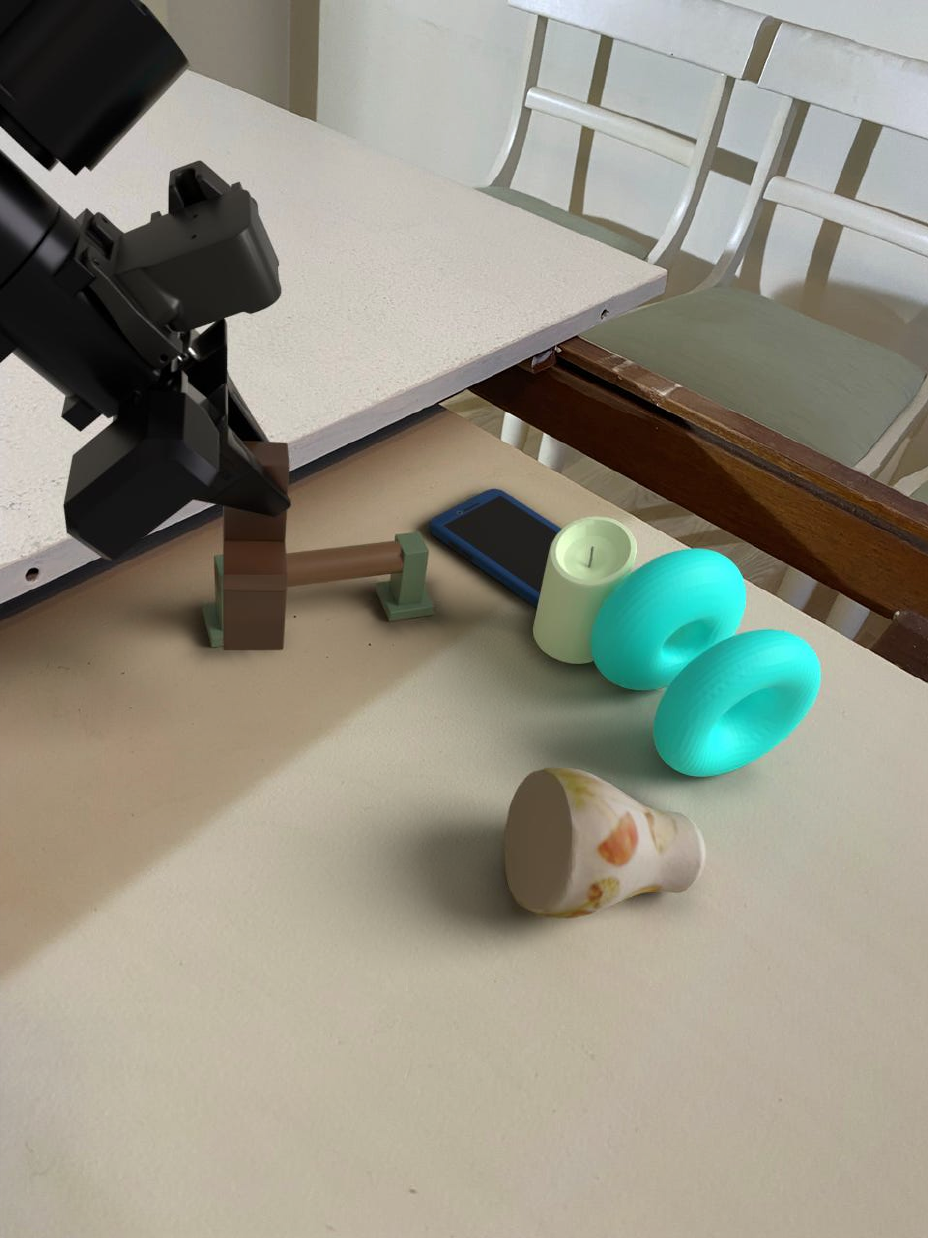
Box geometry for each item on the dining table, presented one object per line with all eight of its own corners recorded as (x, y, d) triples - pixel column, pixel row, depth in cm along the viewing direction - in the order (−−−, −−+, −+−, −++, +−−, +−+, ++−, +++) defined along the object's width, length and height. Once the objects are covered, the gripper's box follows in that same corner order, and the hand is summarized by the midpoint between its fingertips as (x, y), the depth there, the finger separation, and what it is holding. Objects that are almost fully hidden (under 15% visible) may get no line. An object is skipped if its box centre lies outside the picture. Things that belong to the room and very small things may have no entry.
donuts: (651, 805, 57) (704, 679, 50) (566, 680, 63) (603, 553, 56) (793, 762, 60) (859, 640, 54) (699, 648, 67) (748, 526, 60)
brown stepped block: (283, 650, 52) (292, 498, 46) (223, 651, 52) (223, 496, 45) (278, 560, 58) (285, 413, 51) (223, 560, 57) (223, 410, 51)
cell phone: (576, 636, 66) (578, 627, 65) (423, 528, 72) (424, 520, 72) (642, 590, 70) (645, 581, 70) (492, 492, 76) (494, 484, 76)
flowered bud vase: (725, 928, 52) (701, 869, 44) (538, 958, 54) (482, 907, 46) (695, 790, 56) (668, 712, 48) (523, 823, 58) (468, 754, 50)
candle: (569, 677, 63) (594, 582, 57) (516, 628, 66) (535, 532, 60) (626, 643, 66) (655, 549, 60) (572, 596, 68) (596, 501, 62)
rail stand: (211, 648, 61) (209, 584, 58) (202, 614, 63) (199, 550, 60) (433, 615, 66) (443, 554, 62) (418, 585, 68) (427, 524, 64)
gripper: (141, 223, 31) (443, 521, 41) (165, 50, 45) (389, 306, 55) (-92, 433, 35) (239, 662, 45) (-4, 214, 48) (235, 427, 58)
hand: (283, 495), depth 50 cm, fingers closed on brown stepped block, 2 cm apart
